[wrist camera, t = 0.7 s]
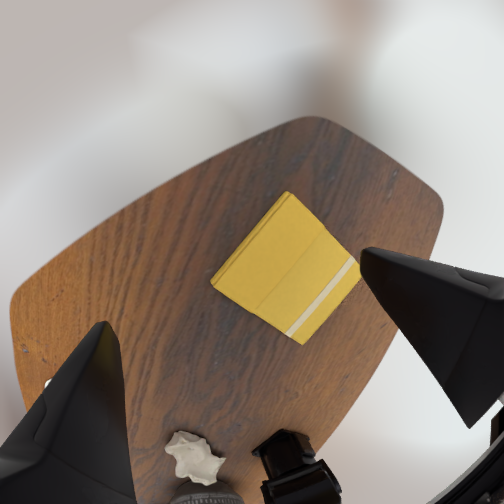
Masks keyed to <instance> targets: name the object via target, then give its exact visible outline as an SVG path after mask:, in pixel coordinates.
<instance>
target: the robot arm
mask: <svg viewBox="0 0 504 504" xmlns="http://www.w3.org/2000/svg"><path fill="white" fill-rule="evenodd" d="M360 273H361V276H362V277H363V279H364V280H365V282H366V283H367V285H368V286H369V288H370V289H371V291H372V292H373V294H374V295H375V297H376V299H377V300H378V302H379V303H380V305H381V306H382V307H383V309H384V310H385V311H386V312H387V314H388V315H389V316H390V318H391V319H392V320H393V321H394V323H395V324H396V325H397V327H398V328H399V329H400V330H401V332H402V333H403V334H404V336H405V337H406V338H407V340H408V341H409V342H410V344H411V345H412V346H413V348H414V349H415V350H416V352H417V353H418V355H419V356H420V357H421V359H422V360H423V361H424V363H425V364H426V365H427V367H428V368H429V370H430V371H431V373H432V374H433V376H434V377H435V378H436V380H437V381H438V383H439V384H440V386H441V387H442V389H443V390H444V392H445V393H446V395H447V396H448V398H449V399H450V401H451V402H452V404H453V405H454V407H455V409H456V410H457V412H458V413H459V415H460V416H461V418H462V419H463V421H464V423H465V424H466V426H467V427H468V428H469V429H470V428H471V427H472V426H473V425H474V424H475V423H476V422H477V421H478V420H479V419H480V418H481V417H482V416H483V415H484V414H485V413H486V412H487V411H488V410H489V409H490V408H491V407H492V406H493V404H494V403H495V402H496V401H497V400H499V401H500V402H501V403H502V404H503V405H504V278H502V277H497V276H493V275H488V274H483V273H478V272H474V271H469V270H466V269H462V268H458V267H453V266H450V265H446V264H442V263H437V262H434V261H430V260H426V259H422V258H418V257H414V256H409V255H405V254H401V253H397V252H393V251H388V250H384V249H380V248H375V247H368V248H365V249H363V250H362V251H361V256H360ZM309 440H310V438H309V437H308V436H305V435H301V434H298V433H294V432H290V431H287V430H283V429H282V430H279V431H278V432H277V433H275V434H274V435H273V436H272V437H270V438H269V439H268V440H267V441H265V442H264V443H263V444H261V445H260V446H259V447H258V448H256V449H255V450H254V451H252V455H253V456H257V457H260V458H261V460H262V463H263V466H264V468H265V471H266V473H267V476H268V479H269V480H264V481H262V483H263V485H262V486H261V487H260V488H261V491H262V494H263V497H264V502H265V504H342V503H341V496H340V495H339V494H340V493H342V490H341V487H340V485H339V483H338V481H337V479H336V477H335V476H334V474H333V473H332V471H331V470H330V468H329V467H328V466H327V464H326V463H325V461H324V460H323V459H321V460H319V461H317V462H316V460H315V458H314V457H315V455H316V454H315V452H314V450H313V448H312V447H311V445H310V443H309ZM0 504H137V501H136V496H135V491H134V485H133V479H132V472H131V465H130V457H129V448H128V438H127V427H126V412H125V389H124V378H123V370H122V361H121V352H120V344H119V340H118V338H117V336H116V334H115V333H114V331H113V329H112V327H111V326H110V324H109V323H108V322H107V321H102V322H98V323H96V324H95V325H94V326H93V327H92V328H91V330H90V331H89V332H88V333H87V334H86V336H85V337H84V338H83V339H82V341H81V342H80V343H79V344H78V346H77V347H76V348H75V349H74V351H73V352H72V353H71V354H70V356H69V357H68V358H67V360H66V361H65V362H64V363H63V365H62V366H61V367H60V369H59V370H58V371H57V373H56V374H55V375H54V377H53V378H52V379H51V381H50V382H49V383H48V385H47V386H46V387H45V389H44V390H43V392H42V394H40V396H39V397H38V399H37V400H36V401H35V403H34V404H33V406H32V407H31V408H30V410H29V411H28V412H27V414H26V415H25V416H24V418H23V419H22V420H21V422H20V423H19V424H18V426H17V427H16V428H15V429H14V430H13V432H12V433H11V434H10V435H9V437H8V438H7V439H6V441H5V442H4V443H3V445H2V446H1V447H0ZM427 504H504V406H503V407H502V408H501V409H500V410H499V412H498V413H497V414H496V415H495V416H494V417H493V418H492V420H491V437H490V447H489V449H487V451H486V452H485V453H484V454H483V455H482V456H481V457H480V458H479V459H478V460H477V461H476V462H475V463H474V464H473V465H472V466H471V467H470V468H468V469H467V470H466V471H465V472H464V473H463V474H462V475H461V476H460V477H459V478H458V479H457V480H455V481H454V482H453V483H452V484H451V485H450V486H448V487H447V488H446V489H445V490H443V491H442V492H441V493H440V494H438V495H437V496H436V497H435V498H433V499H432V500H431V501H429V502H428V503H427Z"/></svg>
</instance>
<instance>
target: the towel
mask: <svg viewBox="0 0 504 504" xmlns="http://www.w3.org/2000/svg"><path fill="white" fill-rule="evenodd" d="M361 277H362V276H361V273H360V265H359V264H358V263H357V262H356V260H355V259H354V258H353V257H352V256H351V255H350V254H349V253H348V252H347V251H346V250H345V249H344V248H343V247H342V246H341V245H340V243H339V242H338V241H337V240H336V239H335V238H334V237H333V236H332V235H331V234H330V233H329V232H328V231H327V230H326V229H325V226H324V225H323V224H322V223H321V222H320V221H319V220H318V219H317V218H316V217H315V216H314V215H313V214H312V213H311V212H310V211H309V210H308V209H307V208H306V207H305V206H304V205H303V204H302V203H301V202H300V201H299V200H298V199H297V198H296V197H295V196H294V195H293V194H291V193H289V192H287V191H285V192H284V193H283V194H282V195H281V197H280V198H279V199H278V200H277V201H276V202H275V204H274V205H273V206H272V207H271V208H270V210H269V211H268V212H267V213H266V214H265V215H264V217H263V218H262V219H261V220H260V221H259V223H258V224H257V225H256V226H255V227H254V228H253V230H252V231H251V232H250V233H249V234H248V236H247V237H246V238H245V239H244V240H243V242H242V243H241V244H240V245H239V246H238V248H237V249H236V250H235V251H234V252H233V254H232V255H231V256H230V257H229V258H228V260H227V261H226V262H225V263H224V264H223V266H222V267H221V268H220V269H219V270H218V272H217V273H216V274H215V275H214V276H213V278H212V279H211V280H210V281H211V284H213V287H214V288H216V289H217V290H219V291H220V292H221V293H223V294H224V295H226V296H227V297H229V298H230V299H231V300H233V301H234V302H236V303H237V304H239V305H240V306H242V307H243V308H245V309H246V310H248V311H249V312H251V313H254V314H256V315H257V316H259V317H260V318H262V319H263V320H265V321H266V322H268V323H269V324H271V325H272V326H274V327H275V328H277V329H278V330H280V331H281V332H283V333H284V334H285V335H287V336H288V337H291V338H292V339H294V340H295V341H297V342H298V343H300V344H302V345H303V344H304V343H305V342H306V341H307V340H308V339H309V338H310V337H311V336H312V335H313V333H314V332H315V331H316V330H317V329H318V328H319V327H320V326H321V325H322V323H323V322H324V321H325V320H326V319H327V318H328V317H329V315H330V314H331V313H332V312H333V311H334V310H335V308H336V307H337V306H338V305H339V304H340V303H341V301H342V300H343V299H344V298H345V297H346V295H347V294H348V293H349V292H350V291H351V289H352V288H353V287H354V286H355V284H356V283H357V282H358V281H359V279H360V278H361Z"/></svg>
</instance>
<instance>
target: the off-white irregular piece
mask: <svg viewBox="0 0 504 504" xmlns="http://www.w3.org/2000/svg"><path fill="white" fill-rule="evenodd" d="M165 451H166V452H167V453H168V454H170V455H171V454H172V455H173V456H174V457H175V459H176V460H177V465H176V468H175V469H176V476H177V477H179V478H185V477H186V476H189V477H190V479H191V480H192V482H195V483H196V482H198V483H203V484H204V485H206V486H207V485H210V484H212V483H214V482H217V480H216V474H217V472H218V470H219V468H220V467H221V465H222V464H223V463H224V461H225V459H226V458H223V457H222V458H218V457H217V456H213V455H212V454H211V450H210V446H209V445H208V444H206V440H205V439H203V438H199V437H198V436H197V435H192V434H191V433H188V432H183V431H179V432H174V436H173V437H172V439H171V441H170V442H169V443H168V444H167V445H166V446H165Z"/></svg>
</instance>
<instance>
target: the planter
mask: <svg viewBox="0 0 504 504" xmlns="http://www.w3.org/2000/svg"><path fill="white" fill-rule="evenodd" d="M169 504H244V501H243V499H242V497H241V496H240V495H239V494H238V493H236V492H235V491H234V490H233V489H232V488H230V487H229V486H228V485H226V484H225V483H223V482H221V481H217V482H214V483H212V484H210V485H207V486H206V485H204V484H203V483H198V482H196V483H195V482H192V481H190V482H187V483H184V484H182V485H181V486H180V487H179V488H178V490H177V491H176V493H175V494H174V496H173V497H172V499H171V501H170V503H169Z"/></svg>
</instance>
